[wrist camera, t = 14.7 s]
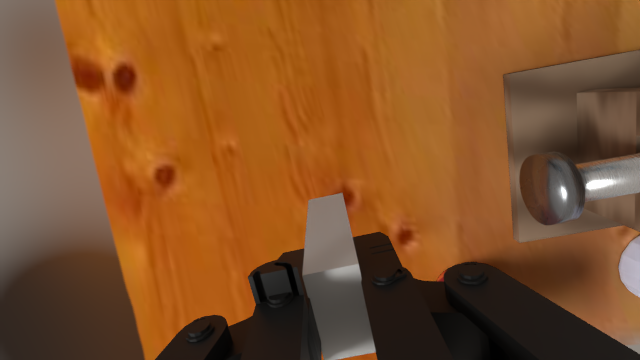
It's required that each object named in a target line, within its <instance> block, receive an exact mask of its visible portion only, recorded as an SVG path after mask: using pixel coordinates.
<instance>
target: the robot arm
mask: <svg viewBox="0 0 640 360" xmlns="http://www.w3.org/2000/svg"><path fill="white" fill-rule="evenodd" d="M248 279H249V283H250V286H251V289H252V293H253V296H254V299H255V303H256V306H255V310H254V313H253V316H251V317H250V318H248V319H246V320H243V321H241V322H239V323H236V324H234V325H231V326H229V327H228V324H227V321H226V319H225V318H224V317H222V316H218V315H211V316H204V317H201V318H200V319H199V318H198V319H196V320H194V321H193V322H192V323H190V324H188V325H187V326H185V327H184V328H183V329H182V330H181V331H180V332H179V333H178V334H177V335H176V336H175V337H174V338H173V339H172V341H171V342H170V343H169V344H168V345H167V346H166V348H165V349H164V350H163V351H162V352H161V353H160V354H159V356H158V357H157V358H156V359H155V360H321V350H322V354H323V357H324V360H336V359H342V358H347V357H352V356H357V355H363V354H368V353H373V352H376V355H377V359H378V360H640V354H638V353H637V352H635V351H633V350H632V349H630V348H628V347H627V346H625V345H623V344H622V343H620V342H618V341H617V340H615V339H613V338H612V337H610V336H608V335H607V334H605V333H603V332H602V331H600V330H598V329H597V328H595V327H593V326H592V325H590V324H588V323H587V322H585V321H583V320H582V319H580V318H578V317H577V316H575V315H573V314H572V313H570V312H568V311H567V310H565V309H563V308H562V307H560V306H558V305H557V304H555V303H553V302H552V301H550V300H548V299H547V298H545V297H543V296H542V295H540V294H538V293H537V292H535V291H533V290H532V289H530V288H528V287H527V286H525V285H523V284H522V283H520V282H518V281H517V280H515V279H513V278H512V277H510V276H508V275H507V274H505V273H504V272H502V271H500V270H499V269H497V268H495V267H493V266H490V265H488V264H483V263H477V262H471V263H469V262H465V263H462V264H457V265H454V266H452V267H450V268H448V269H447V271H446V272H445V273H444V281H422V280H417V279H415V278H413V277H412V274H411V273H410V272H409V271H408V270H407V269H406V268H404V267H402V265H401V263H400V260H399V258H398V256H397V254H396V252H395V250H394V248H393V246H392V244H391V241H390V239H389V237H388V236H386V235H385V234H383V233H381V232H376V233H372V234H367V235H362V236H357V237H352V233H351V229H350V224H349V220H348V216H347V211H346V207H345V203H344V198H343V194H342V193H340V194H335V195H330V196H326V197H321V198H316V199H312V200H309V203H308V214H307V226H306V237H305V249H300V250H295V251H290V252H285V253H283V254H282V255H281V256H280V257H279V259H278V260H275V261H272V262H268V263H265V264H263V265H261V266H259V267H257V268H256V269H255V270H253V271H252V272H251V273H250V275H249V276H248Z"/></svg>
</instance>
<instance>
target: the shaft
mask: <svg viewBox="0 0 640 360" xmlns="http://www.w3.org/2000/svg"><path fill="white" fill-rule="evenodd" d="M519 183H520V190H521V195H522V198H523V201H524V203H525V205H526V207H527V209H528V211H529V213H530V214H531V215H532V217H533V218H534V219H535V220H536V221H538V222H539V223H541V224H543V225H554V224H560V223H566V222H572V221H574V220H576V219H577V218H578V217H579V216H580V215H581V213H582V211H583V209H584V205H585V202H587V201H593V200H599V199H605V198H611V197H617V196H622V195H628V194H634V193H640V153H638V154H632V155H627V156H621V157H615V158H609V159H604V160H598V161H592V162H586V163H581V164H574V163H573V161H572V160H571V159H570V158H569V157H567V156H566V155H565V154H563V153H560V152H548V153H542V154H536V155H531V156H529V157H527V158H526V159H525V160H524V162H523V163H522V166H521V169H520V175H519Z"/></svg>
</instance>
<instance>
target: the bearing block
mask: <svg viewBox="0 0 640 360" xmlns="http://www.w3.org/2000/svg"><path fill="white" fill-rule="evenodd" d="M503 79H504V94H505V110H506V126H507V142H508V157H509V173H510V189H511V204H512V220H513V236H514V239H515V240H516V241H518V242H519V243H522V242H528V241H534V240H539V239H545V238H551V237H557V236H563V235H569V234H575V233H581V232H587V231H593V230H599V229H605V228H611V227H616V226H622V225H625V226H627V227H630V228H632V229H634V230H637V231H639V232H640V193H634V194H628V195H622V196H617V197H611V198H605V199H599V200H593V201H587V202H585V205H584V209H583V211H582V213H581V215H580V216H579V217H578V218H577V219H576V220H574V221H572V222H566V223H560V224H554V225H543V224H541V223H539V222H538V221H536V220H535V219H534V218H533V217H532V215H531V214H530V213H529V211H528V209H527V207H526V205H525V203H524V201H523V198H522V195H521V190H520V183H519V175H520V169H521V166H522V163H523V162H524V160H525V159H526V158H527V157H529V156H531V155H536V154H542V153H548V152H560V153H563V154H565V155H566V156H567V157H569V158H570V159H571V160H572V161H573V163H574V164H581V163H586V162H592V161H598V160H604V159H609V158H615V157H621V156H627V155H632V154H638V153H640V50H636V51H630V52H625V53H619V54H614V55H608V56H603V57H597V58H592V59H586V60H581V61H575V62H570V63H565V64H559V65H554V66H548V67H543V68H537V69H532V70H526V71H521V72H515V73H510V74H504V75H503Z"/></svg>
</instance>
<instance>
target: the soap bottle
mask: <svg viewBox="0 0 640 360" xmlns="http://www.w3.org/2000/svg"><path fill="white" fill-rule="evenodd" d="M618 268H619V273H620V279H621V281H622V282H623V283H624V285H625V286H626V287H627V289H628V290H629V291H630V292H632V293H633V294H635V295H637V296H638V297H640V235H639V236H637V237H636V238H635V239H633V240H632V241H631V242H630V243H629V244H628V246H627V247H626V249H625V250H624V251H623V253H622V255H621V259H620V263H619V267H618Z"/></svg>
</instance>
